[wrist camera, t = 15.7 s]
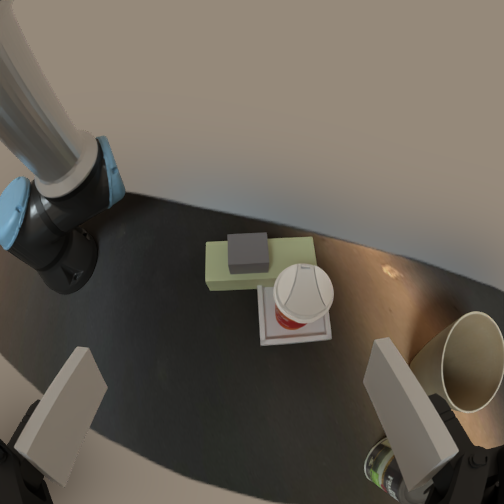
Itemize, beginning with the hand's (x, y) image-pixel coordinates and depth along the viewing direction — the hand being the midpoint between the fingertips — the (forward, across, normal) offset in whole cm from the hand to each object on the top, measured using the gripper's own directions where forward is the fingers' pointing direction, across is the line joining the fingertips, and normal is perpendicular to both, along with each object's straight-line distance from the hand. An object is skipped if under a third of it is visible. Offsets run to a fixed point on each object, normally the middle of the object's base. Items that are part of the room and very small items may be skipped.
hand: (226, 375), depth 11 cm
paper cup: (+30, +8, -17) cm, 35 cm away
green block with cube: (+33, +4, -15) cm, 36 cm away
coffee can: (+10, +24, -38) cm, 46 cm away
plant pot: (+21, +32, -27) cm, 47 cm away
